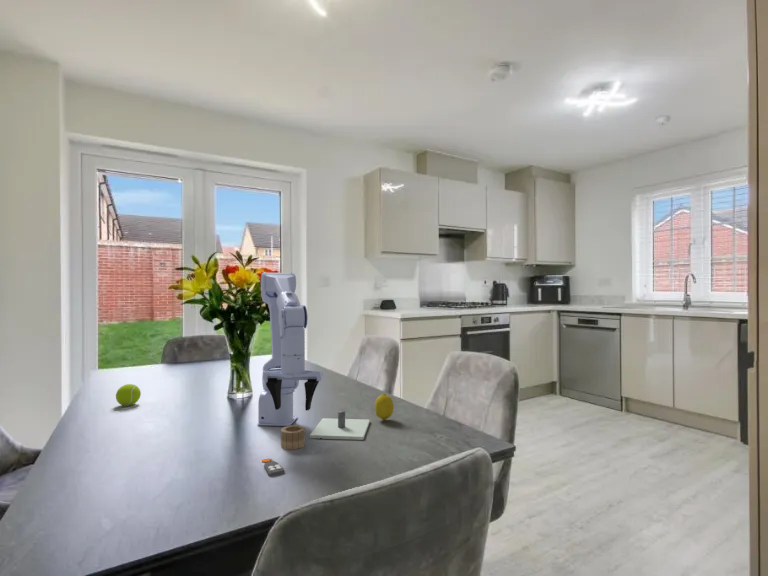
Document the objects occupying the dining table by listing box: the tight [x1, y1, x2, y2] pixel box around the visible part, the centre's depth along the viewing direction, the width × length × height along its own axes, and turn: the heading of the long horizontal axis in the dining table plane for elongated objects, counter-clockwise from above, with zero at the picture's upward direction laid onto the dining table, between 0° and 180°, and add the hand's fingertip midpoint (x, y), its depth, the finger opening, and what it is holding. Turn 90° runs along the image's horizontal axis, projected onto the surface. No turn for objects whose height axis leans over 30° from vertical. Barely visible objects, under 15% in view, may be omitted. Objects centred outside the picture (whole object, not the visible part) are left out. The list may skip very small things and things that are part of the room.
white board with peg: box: [309, 410, 371, 441], centre depth 115 cm, size 14×14×5 cm
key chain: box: [261, 457, 286, 477], centre depth 93 cm, size 13×4×2 cm, turn 31°
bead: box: [280, 424, 306, 450], centre depth 103 cm, size 6×6×4 cm
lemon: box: [374, 393, 394, 421], centre depth 123 cm, size 6×6×8 cm
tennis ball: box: [115, 383, 142, 407], centre depth 138 cm, size 7×7×7 cm
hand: (292, 408), depth 103 cm, fingers open, 7 cm apart
